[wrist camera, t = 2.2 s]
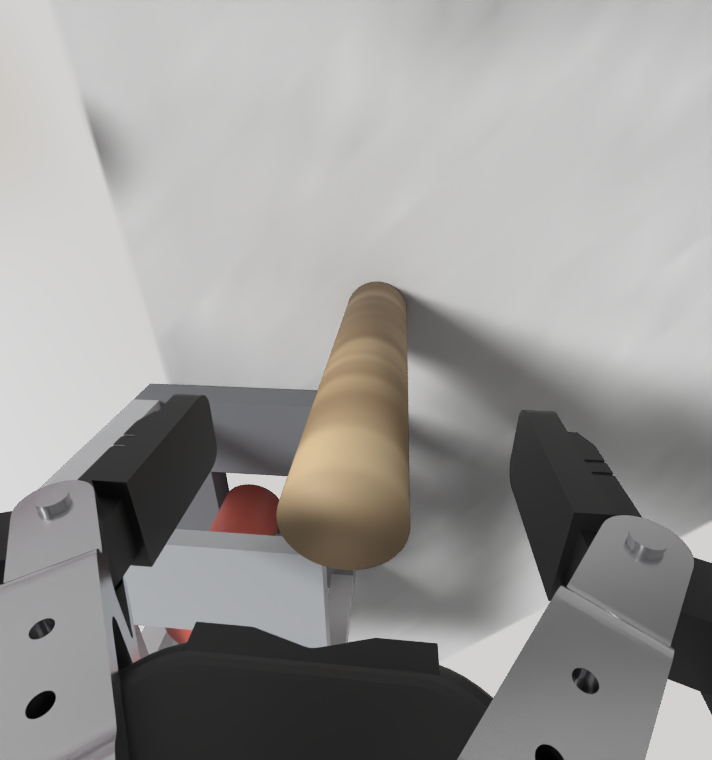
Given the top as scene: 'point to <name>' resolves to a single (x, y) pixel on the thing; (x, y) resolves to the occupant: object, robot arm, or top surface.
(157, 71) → the top surface
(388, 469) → the oak dowel
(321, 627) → the grey open cage
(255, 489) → the plunger
